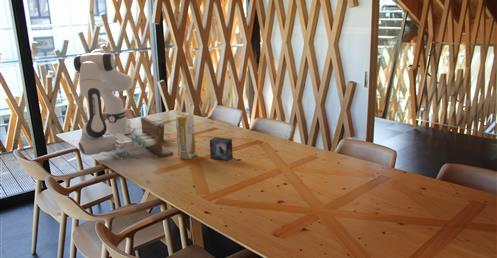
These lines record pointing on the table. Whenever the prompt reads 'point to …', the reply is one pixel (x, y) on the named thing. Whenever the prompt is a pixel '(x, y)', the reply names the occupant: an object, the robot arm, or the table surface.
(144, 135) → the button
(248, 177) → the table surface
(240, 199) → the table surface
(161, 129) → the disposable coffee cup
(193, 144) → the juice carton
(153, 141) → the button
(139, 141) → the button middle
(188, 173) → the table surface
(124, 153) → the card
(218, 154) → the small box
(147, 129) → the brown wooden rack
